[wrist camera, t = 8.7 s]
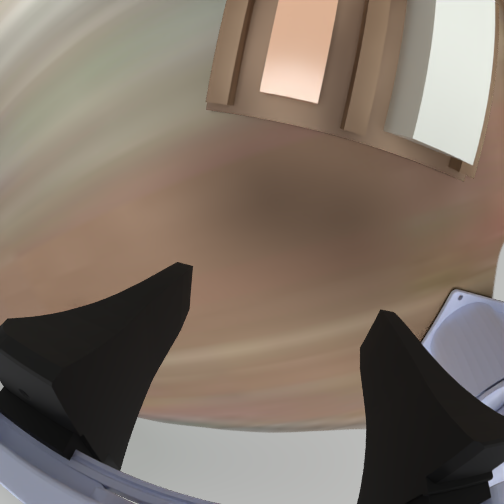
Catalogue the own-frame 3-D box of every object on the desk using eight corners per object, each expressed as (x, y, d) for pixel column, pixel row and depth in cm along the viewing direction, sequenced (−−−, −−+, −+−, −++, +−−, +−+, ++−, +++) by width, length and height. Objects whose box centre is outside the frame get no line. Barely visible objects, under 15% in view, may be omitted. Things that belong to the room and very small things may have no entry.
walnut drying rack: (484, 9, 10) (502, 1, 7) (457, 178, 16) (475, 188, 14) (250, -64, 11) (243, -82, 8) (210, 109, 17) (197, 109, 15)
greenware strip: (456, -6, 9) (493, -28, 5) (432, 149, 15) (472, 165, 11) (409, -29, 10) (436, -60, 5) (383, 130, 15) (412, 138, 11)
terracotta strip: (343, -43, 10) (347, -58, 8) (315, 104, 15) (317, 103, 13) (295, -53, 10) (294, -68, 8) (264, 93, 15) (259, 91, 14)
